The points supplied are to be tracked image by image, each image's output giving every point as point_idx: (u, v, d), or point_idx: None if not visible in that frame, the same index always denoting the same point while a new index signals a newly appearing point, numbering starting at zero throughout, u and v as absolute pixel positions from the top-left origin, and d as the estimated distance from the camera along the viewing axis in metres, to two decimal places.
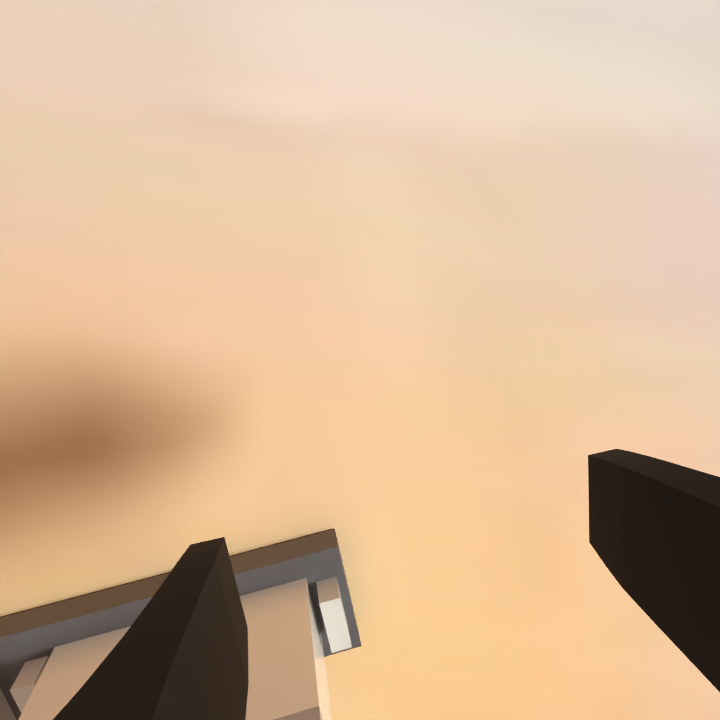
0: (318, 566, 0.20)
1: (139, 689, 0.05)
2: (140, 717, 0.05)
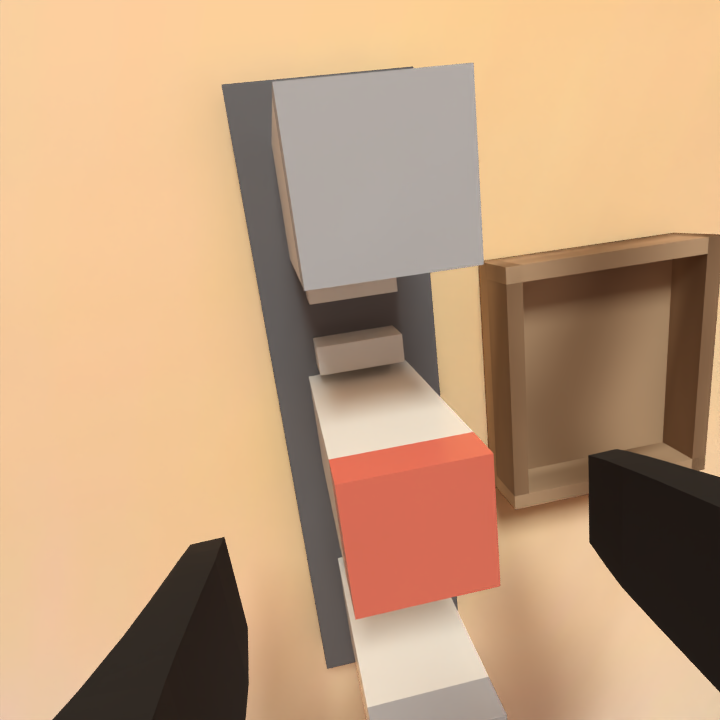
0: (253, 121, 0.13)
1: (138, 689, 0.05)
2: (140, 717, 0.05)
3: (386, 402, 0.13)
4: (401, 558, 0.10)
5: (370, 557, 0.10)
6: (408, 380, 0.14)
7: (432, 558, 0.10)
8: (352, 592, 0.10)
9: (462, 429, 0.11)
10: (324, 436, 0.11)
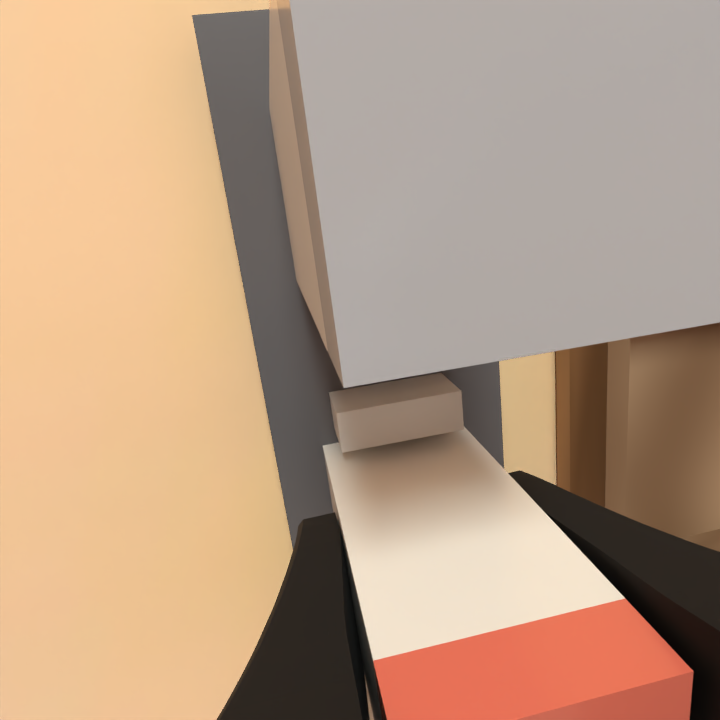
0: (242, 74, 0.09)
1: (322, 642, 0.06)
2: (339, 665, 0.05)
3: (449, 508, 0.08)
4: None
5: None
6: (473, 461, 0.09)
7: None
8: None
9: (602, 590, 0.06)
10: (359, 590, 0.07)
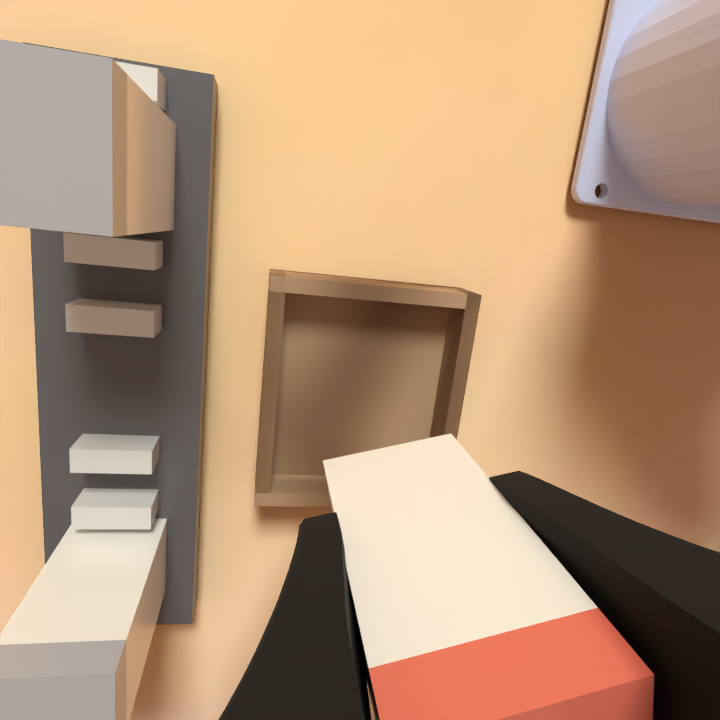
0: None
1: (324, 642, 0.06)
2: (341, 664, 0.05)
3: (440, 522, 0.09)
4: None
5: None
6: (464, 476, 0.10)
7: None
8: None
9: (577, 599, 0.07)
10: (356, 602, 0.07)
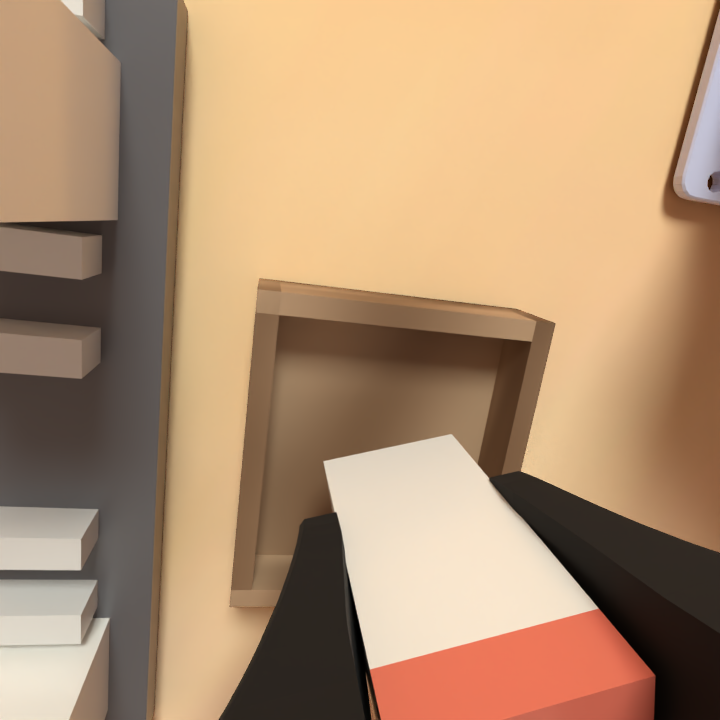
0: None
1: (324, 641, 0.06)
2: (341, 664, 0.05)
3: (441, 523, 0.09)
4: None
5: None
6: (465, 476, 0.10)
7: None
8: None
9: (579, 600, 0.07)
10: (357, 603, 0.07)
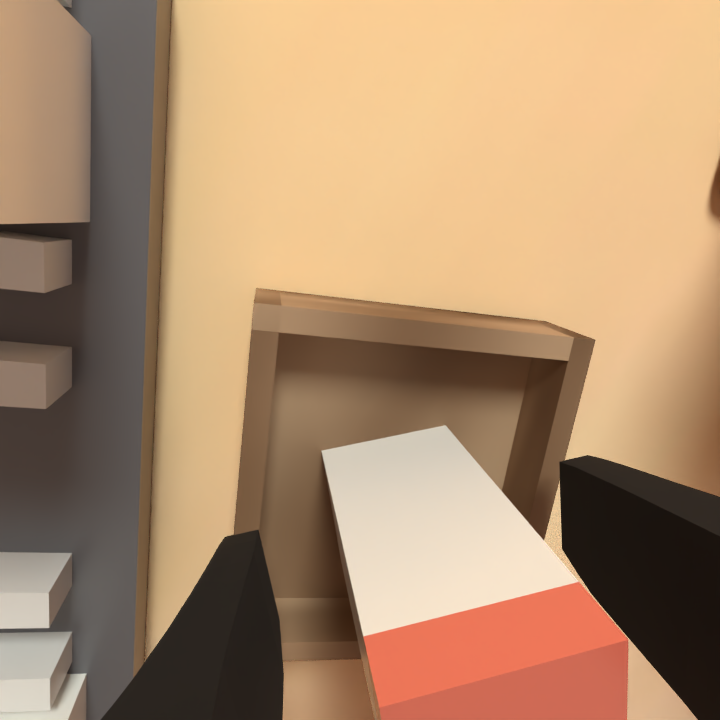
0: None
1: (195, 675, 0.06)
2: (202, 700, 0.05)
3: (433, 506, 0.09)
4: None
5: None
6: (457, 464, 0.10)
7: None
8: None
9: (560, 575, 0.07)
10: (352, 578, 0.08)
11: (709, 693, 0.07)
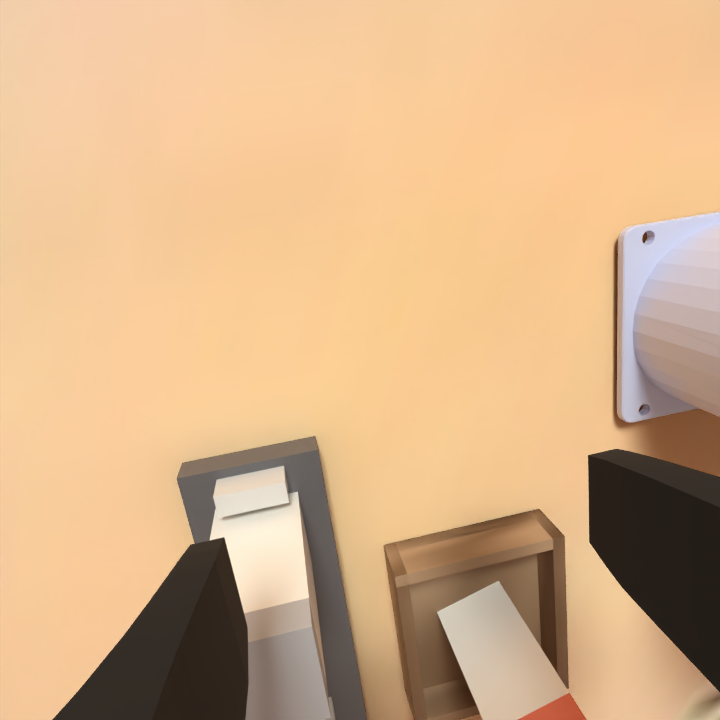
0: (201, 497, 0.18)
1: (138, 689, 0.05)
2: (140, 717, 0.05)
3: (503, 652, 0.19)
4: None
5: None
6: (509, 616, 0.20)
7: None
8: None
9: (562, 689, 0.17)
10: (477, 704, 0.18)
11: None
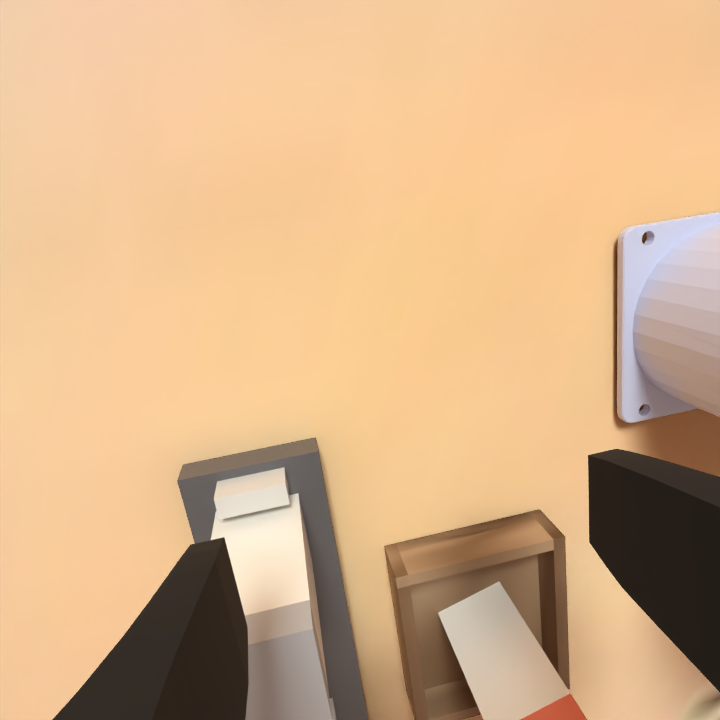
0: (202, 499, 0.18)
1: (138, 689, 0.05)
2: (140, 717, 0.05)
3: (504, 652, 0.19)
4: None
5: None
6: (510, 617, 0.20)
7: None
8: None
9: (563, 690, 0.17)
10: (478, 705, 0.18)
11: None
